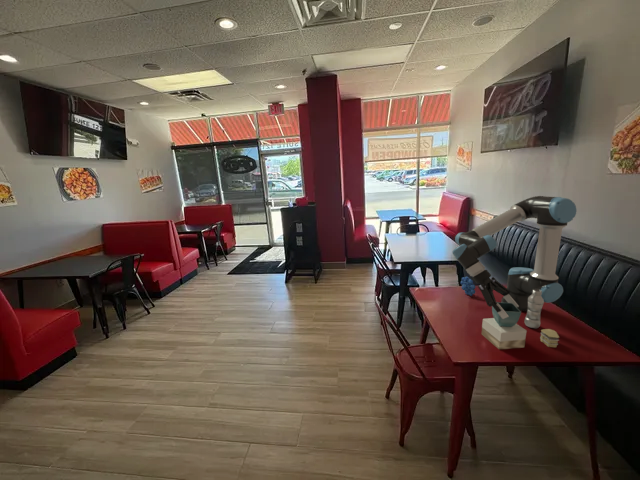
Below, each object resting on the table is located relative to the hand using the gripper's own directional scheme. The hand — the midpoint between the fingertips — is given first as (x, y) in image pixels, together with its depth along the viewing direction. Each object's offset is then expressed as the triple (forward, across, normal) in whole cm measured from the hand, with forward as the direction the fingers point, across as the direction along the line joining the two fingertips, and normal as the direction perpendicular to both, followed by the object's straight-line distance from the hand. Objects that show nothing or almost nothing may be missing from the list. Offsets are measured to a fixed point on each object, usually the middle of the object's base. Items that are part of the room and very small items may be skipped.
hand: (511, 312), depth 121 cm
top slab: (+7, 0, -10) cm, 12 cm away
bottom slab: (+10, 0, -13) cm, 16 cm away
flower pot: (+3, 0, -7) cm, 8 cm away
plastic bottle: (+14, -24, -8) cm, 29 cm away
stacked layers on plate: (+20, -13, -2) cm, 24 cm away
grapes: (-14, -39, -36) cm, 55 cm away
